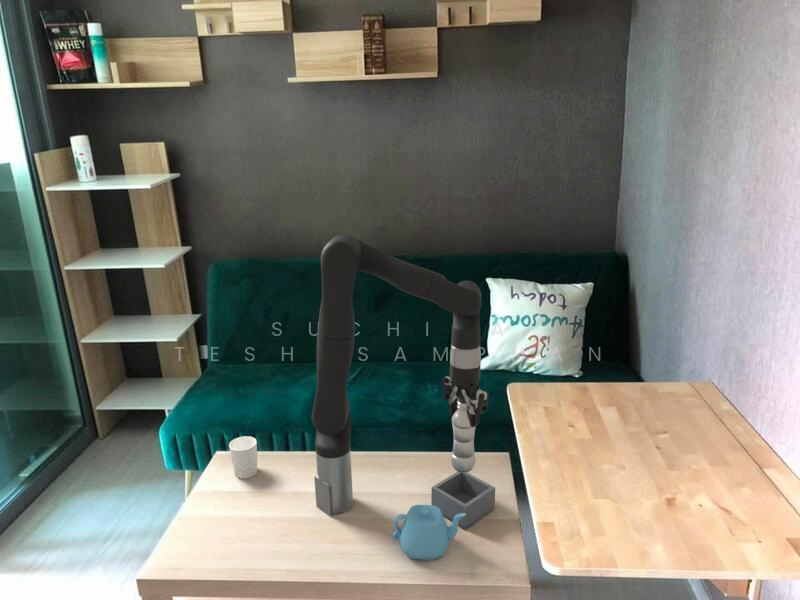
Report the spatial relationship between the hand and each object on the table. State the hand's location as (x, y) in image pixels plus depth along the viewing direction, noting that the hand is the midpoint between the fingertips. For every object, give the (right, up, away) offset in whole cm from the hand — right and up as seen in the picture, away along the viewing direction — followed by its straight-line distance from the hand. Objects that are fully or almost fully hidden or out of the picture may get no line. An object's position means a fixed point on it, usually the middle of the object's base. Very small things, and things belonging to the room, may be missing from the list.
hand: (464, 420), depth 162 cm
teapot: (-9, -31, -5) cm, 32 cm away
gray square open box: (+1, -26, +9) cm, 27 cm away
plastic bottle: (0, -14, +5) cm, 14 cm away
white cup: (-63, -21, +27) cm, 71 cm away
